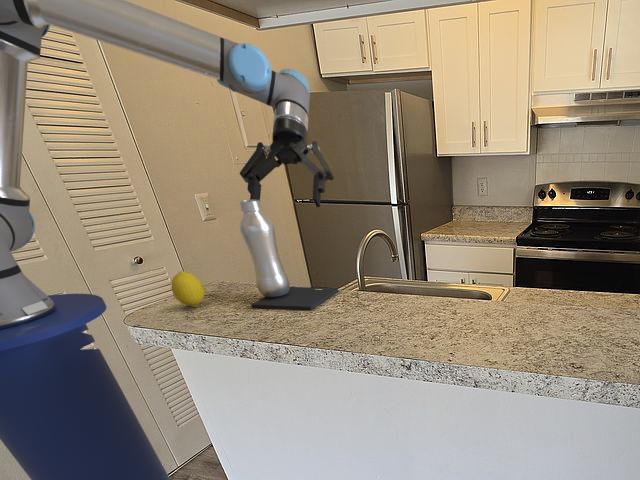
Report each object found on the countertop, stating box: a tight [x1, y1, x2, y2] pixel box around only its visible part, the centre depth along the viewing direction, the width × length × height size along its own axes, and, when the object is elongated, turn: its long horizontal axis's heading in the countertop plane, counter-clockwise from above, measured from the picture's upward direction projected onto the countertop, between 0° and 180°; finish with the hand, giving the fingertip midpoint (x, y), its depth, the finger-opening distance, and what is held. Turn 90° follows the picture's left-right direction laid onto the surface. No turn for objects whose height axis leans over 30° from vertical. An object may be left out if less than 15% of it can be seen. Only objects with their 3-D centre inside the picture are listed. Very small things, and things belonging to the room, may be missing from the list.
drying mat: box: [250, 286, 339, 311], centre depth 90 cm, size 14×12×1 cm
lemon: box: [170, 270, 206, 308], centre depth 86 cm, size 6×6×8 cm
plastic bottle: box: [239, 199, 291, 297], centre depth 86 cm, size 6×7×20 cm
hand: (285, 204), depth 91 cm, fingers open, 13 cm apart
